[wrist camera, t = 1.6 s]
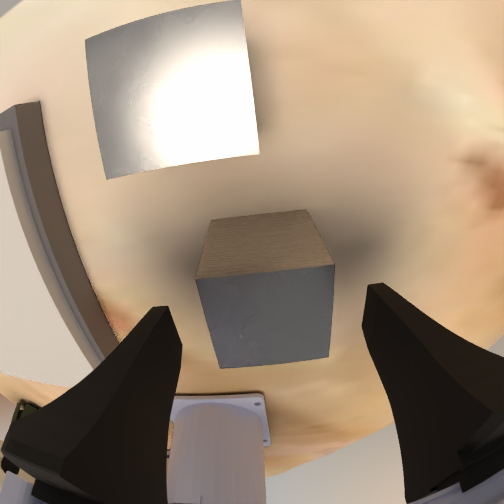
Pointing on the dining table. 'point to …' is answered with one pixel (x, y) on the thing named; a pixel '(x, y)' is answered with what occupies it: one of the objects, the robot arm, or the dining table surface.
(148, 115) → the block
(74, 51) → the dining table surface
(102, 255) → the dining table surface
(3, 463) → the character mug
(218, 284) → the block
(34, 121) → the kitchen scale
